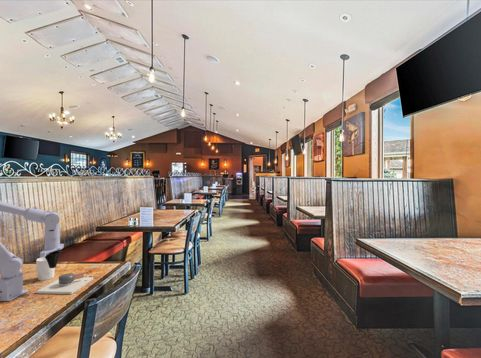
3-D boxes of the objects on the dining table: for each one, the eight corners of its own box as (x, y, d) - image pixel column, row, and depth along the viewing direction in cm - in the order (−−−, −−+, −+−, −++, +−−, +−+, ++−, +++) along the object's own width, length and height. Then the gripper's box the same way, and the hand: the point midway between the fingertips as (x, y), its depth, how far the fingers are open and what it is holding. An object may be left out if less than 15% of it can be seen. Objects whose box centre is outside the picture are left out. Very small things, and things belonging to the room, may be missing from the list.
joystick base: (71, 294, 115) (71, 289, 115) (36, 293, 115) (36, 288, 115) (93, 279, 131) (93, 275, 131) (62, 278, 131) (62, 274, 131)
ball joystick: (59, 284, 119) (59, 279, 119) (57, 280, 123) (57, 275, 123) (84, 279, 126) (84, 273, 125) (82, 275, 130) (82, 270, 130)
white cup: (59, 275, 136) (59, 256, 136) (47, 281, 128) (46, 261, 128) (45, 274, 137) (45, 255, 137) (32, 280, 129) (31, 260, 129)
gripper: (51, 242, 114) (52, 273, 114) (70, 234, 128) (70, 262, 129) (34, 242, 113) (35, 273, 114) (54, 234, 128) (55, 262, 128)
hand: (52, 267), depth 121 cm, fingers closed
